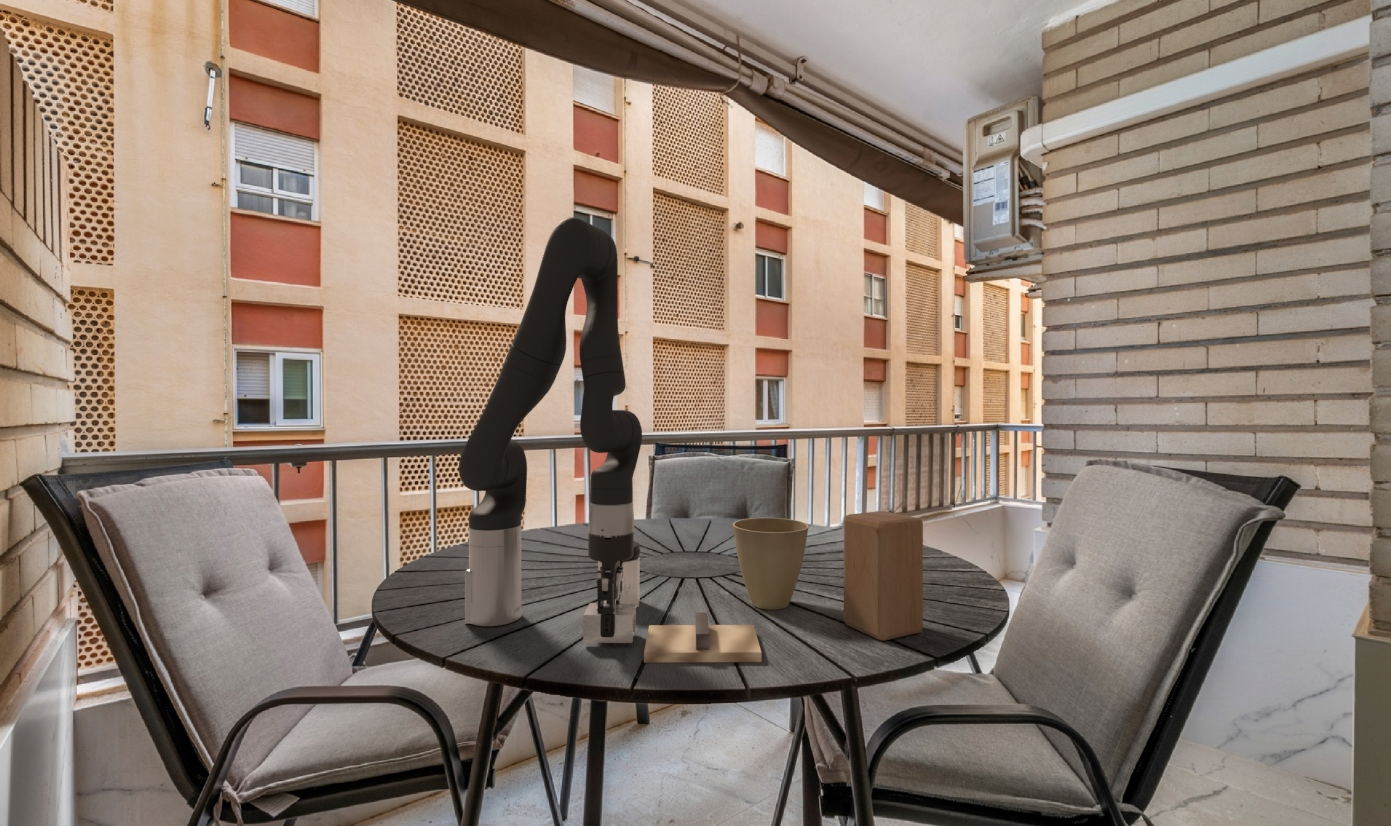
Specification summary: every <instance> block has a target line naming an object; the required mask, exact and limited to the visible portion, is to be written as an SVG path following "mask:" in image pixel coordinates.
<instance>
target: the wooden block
mask: <svg viewBox="0 0 1391 826" xmlns="http://www.w3.org/2000/svg"><path fill="white" fill-rule="evenodd" d="M923 553H924V522H923V520H922V519H920V518H918V517H915V516H911V515H906V514H901V513H894V512H890V511H885V510H878V511H877V510H876V511H871V512H870V511H869V512H860V513H859V512H857V513H850V514H846V515H845V516H844V518H843V621H844V624H845V625H846V626H848V627H850V628H852V629H855V630H857V631H859V632H861V633H863V634H866V635H868V636H870V637H872V638H874V639H876V640H879V641H883V642H884V641H888V640H893V639H897V638H901V637H904V636H905V637H907V636H909V635H910V636H911V635H913V634H919V633H921V632H922V631H923V628H924V624H923V623H924V617H923V616H924V608H923V607H924V605H923V604H924V602H923V601H924V593H923V592H924V582H923V581H924V575H923V574H924V554H923Z"/></svg>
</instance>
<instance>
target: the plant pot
mask: <svg viewBox="0 0 1391 826" xmlns="http://www.w3.org/2000/svg"><path fill="white" fill-rule="evenodd" d="M732 530H733V536H734V537H733V538H734V543H735V548H736V549H735V550H736V554H737V559H738V564H739V568H740V572H741V576H742V579H743V583H744V586H745V590H746V592H747V594H748V597H749V600H750V602H751V605H752V606H753V607H755V608H758V609H762V610H769V611H770V610H773V611H775V610H781V609H785V608H787V607H789V604H790V603H791V600H792V597H793V595H794V591H795V588H796V586H797V582H798V580H799V576H800V572H801V569H802V565H803V561H804V556H805V551H806V545H807V540H808V539H807V538H808V533H809V525H808V523H806V522H803V521H800V520H795V519H790V518H780V517H754V518H753V517H751V518H744V519H739V520H736V521H734V522H733V523H732Z"/></svg>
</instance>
